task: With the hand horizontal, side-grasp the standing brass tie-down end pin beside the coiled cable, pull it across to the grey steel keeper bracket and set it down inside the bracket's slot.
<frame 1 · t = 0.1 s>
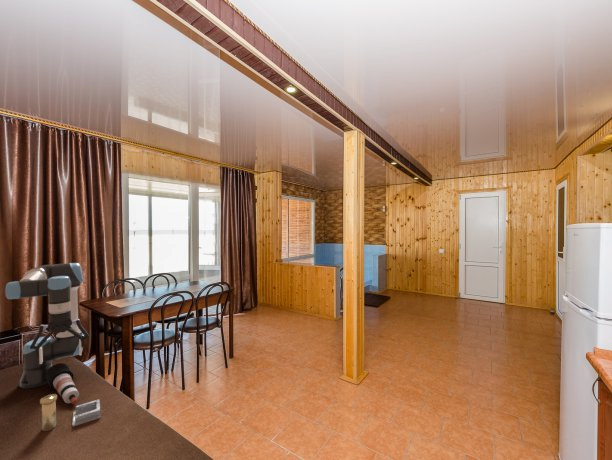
hand: (61, 358, 133), 28 cm above the table, tool pointing down, fingers open, 13 cm apart
end pin: (49, 427, 128), on the table
cable: (65, 394, 153), on the table
keeper bracket: (86, 415, 136), on the table
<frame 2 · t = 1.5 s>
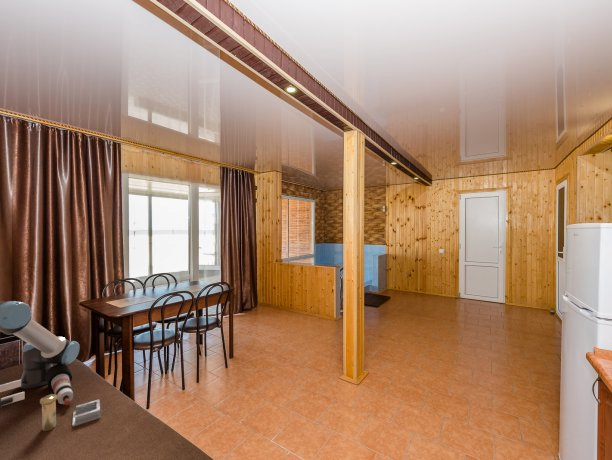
hand: (22, 388, 122), 20 cm above the table, tool horizontal, fingers open, 13 cm apart
cable: (64, 394, 153), on the table, touching arm
everything else where it was.
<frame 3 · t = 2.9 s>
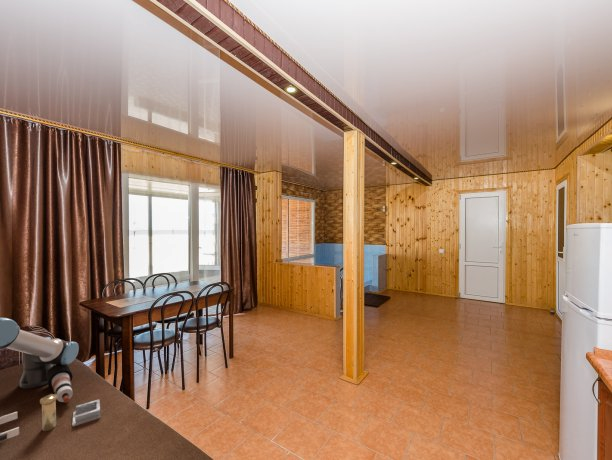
hand: (18, 422, 121), 7 cm above the table, tool horizontal, fingers open, 13 cm apart
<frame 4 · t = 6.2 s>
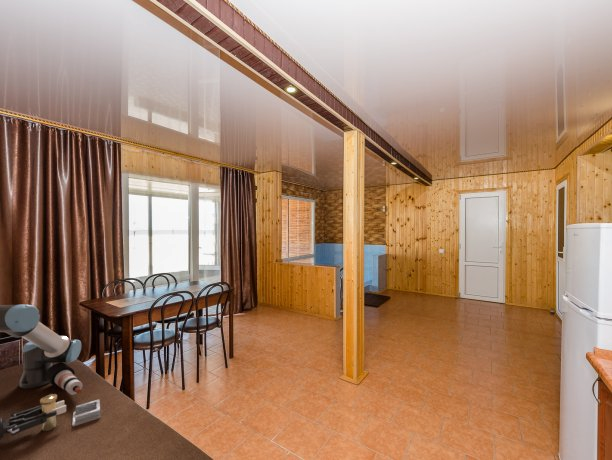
hand: (65, 405, 132), 7 cm above the table, tool horizontal, fingers closed on end pin, 4 cm apart
end pin: (49, 427, 129), on the table, touching gripper
cable: (67, 389, 154), point 2 cm above the table, touching arm
when the fingers open (9 cm above the table, at t = 10.5 s): end pin drops 2 cm, resting on keeper bracket.
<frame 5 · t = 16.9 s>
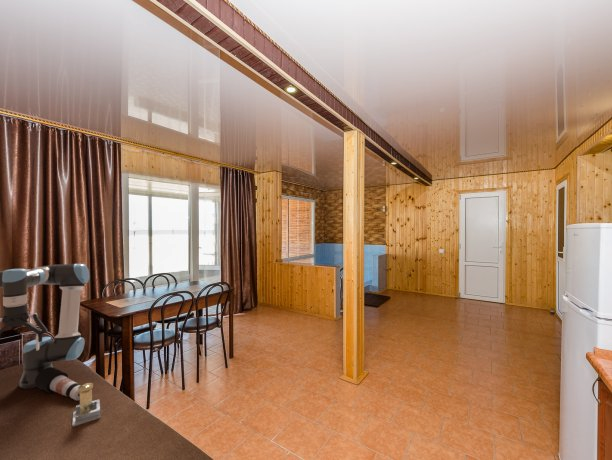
hand: (16, 353, 129), 32 cm above the table, tool pointing down, fingers open, 13 cm apart
end pin: (86, 414, 136), point 1 cm above the table, touching keeper bracket
cable: (66, 395, 153), on the table
at the end: end pin inside the target area on the keeper bracket (0.1 cm from its centre), point 0.8 cm above the keeper bracket's base; end pin tilted 0°; the gripper is holding nothing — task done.
